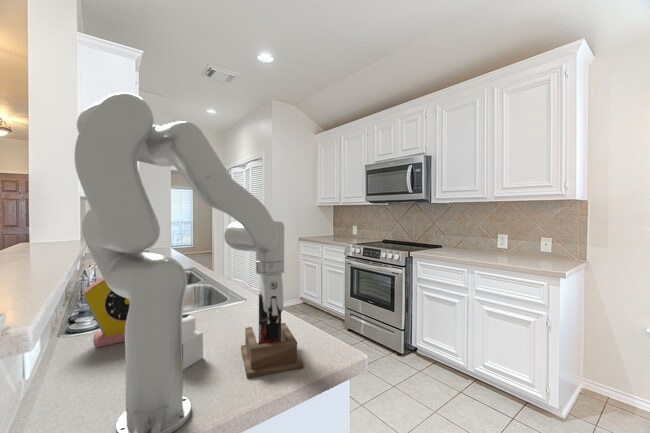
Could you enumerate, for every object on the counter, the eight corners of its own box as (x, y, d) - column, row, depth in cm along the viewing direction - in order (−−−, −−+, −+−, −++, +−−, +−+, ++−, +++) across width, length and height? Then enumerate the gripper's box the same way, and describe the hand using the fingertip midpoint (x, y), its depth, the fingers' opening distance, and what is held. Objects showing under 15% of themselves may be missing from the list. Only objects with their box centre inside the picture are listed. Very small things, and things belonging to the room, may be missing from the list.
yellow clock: (84, 351, 87) (83, 275, 87) (83, 340, 94) (82, 270, 94) (169, 331, 102) (168, 266, 101) (162, 323, 109) (162, 262, 108)
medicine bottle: (161, 365, 80) (161, 319, 79) (183, 353, 86) (183, 310, 86) (182, 370, 77) (182, 323, 77) (203, 358, 84) (203, 314, 83)
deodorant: (253, 350, 82) (254, 295, 82) (269, 343, 87) (270, 290, 87) (269, 357, 79) (270, 298, 79) (285, 348, 84) (285, 293, 84)
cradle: (303, 368, 78) (303, 343, 78) (246, 378, 74) (246, 352, 74) (288, 342, 94) (288, 322, 93) (241, 349, 89) (241, 328, 89)
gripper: (291, 271, 76) (291, 344, 76) (277, 261, 92) (277, 321, 93) (260, 273, 73) (260, 349, 74) (252, 262, 90) (251, 324, 90)
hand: (269, 332), depth 83 cm, fingers closed on deodorant, 5 cm apart
